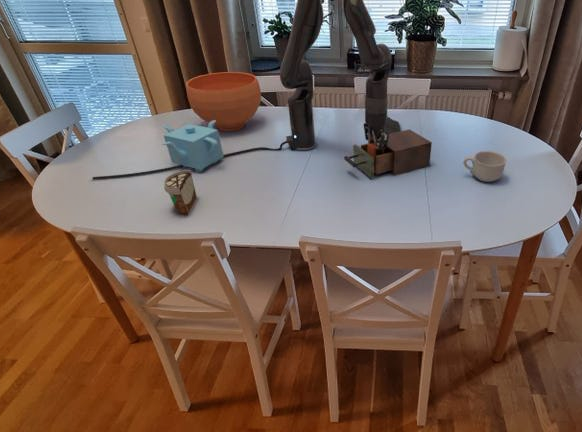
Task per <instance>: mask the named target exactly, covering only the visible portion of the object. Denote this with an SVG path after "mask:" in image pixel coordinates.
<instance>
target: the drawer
mask: <svg viewBox="0 0 582 432" xmlns="http://www.w3.org/2000/svg"><path fill="white" fill-rule="evenodd" d="M367 144H369V143H368V142H367V143H363V144H360V146H359V145H358V144H353V145H352V151H353V152H352V153H353V155H349V156H348V155H344V157H343V160H344V161H345V162H347V163H348V164H349V165H350V166H351V167H352V168H358V169H359V170H361V171H362V172H363V173H364V174H365V175H366V176H368V177H369V178H370V179H373V178H374V177H375V175H379V174H383V173H387V172H389V171H391V170H393V152H392V151H390V150H389V149H387V148H386V149H384V154H382V155H378V156H375V160H374V158H373V157H372V156H371V155H369V154H368V153H367ZM352 159H353V160H352Z"/></svg>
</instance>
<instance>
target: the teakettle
mask: <svg viewBox="0 0 582 432" xmlns="http://www.w3.org/2000/svg"><path fill="white" fill-rule="evenodd" d="M215 122H216V120H213V121H211V122H210V123H208V125H207V127H206V126H201V125H196V124H191V123H188V124H185V125H184V126H181V127H179V128H177V129H173V127H171V126H170V125H167V124H166V125H162V127H163V128H164V129H165V130H166V132H167V133H165V134H164V135H163V138H164V141H165V142H163V143H161V145H162V146H166V148H167V151H168V153H169V157H170V161H171V163H172V164H176V165H184V166H183V167H180V168H182V169H185V168H188V167H189V168H192V169H194V170H195V172H198V173H199V172H203V171H204V170H205V168H207V167H208V166H210V165H211V164H217V163H218V161H219V160H220V159H222V158H225V157H224V155H225V154H224V152H223V147H222V143H221V138H220V134H219V130H218V129H217V128H214V127H215V125H214V123H215Z"/></svg>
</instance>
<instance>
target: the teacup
mask: <svg viewBox="0 0 582 432" xmlns="http://www.w3.org/2000/svg"><path fill="white" fill-rule="evenodd" d="M468 161H471V163H472V166H470V165H468V164H467V163H468ZM462 162H463V163H462V164H463V166H464V168H466V169H467V170H469V172H470V173H471V174H473V176H474V177H475V178H476V179H478V180H479V181H481V182H483V183H484V182H485V183H492V182H495V181H497V180H499V179H500V178H502V176H503V173H504V171H505V166H506V163H507V158H506V157H505V156H504V155H503V154H502V153H499V152H496V151H491V150H481V151H478V152H475V154H474V156H466V157H465V158H464V159H463V161H462Z"/></svg>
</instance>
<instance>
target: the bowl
mask: <svg viewBox="0 0 582 432" xmlns="http://www.w3.org/2000/svg"><path fill="white" fill-rule="evenodd" d="M185 88H186V95H187V100H188V103H189V106H190V107H191V109H192V111H193V113H194V114H195V115H197V116H198V117H199V118H200V119H201V120H202V121H204V122H206V123H208V124H209V123H210V122H211V121H213V120H216V122H215V123H214V127H217V128H218V129H219V130H220V131H222V132H223V131H224V132H234V131H239V130H241V129H243V128H244V127H245V125H246V123H247V122H249V120H251V119H252V118H253V117H254V116H255V114H256V113H257V111H258V109H259V107H260V105H261V101H262V92H261V91H262V90H261V86H260V83H259V80H258V78H257V77H256V75H254V74H251V73H249V72H241V71H223V72H214V73H207V74H201V75H198V76H195V77H193V78H190V79H189V80H187V81H186V82H185Z"/></svg>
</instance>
